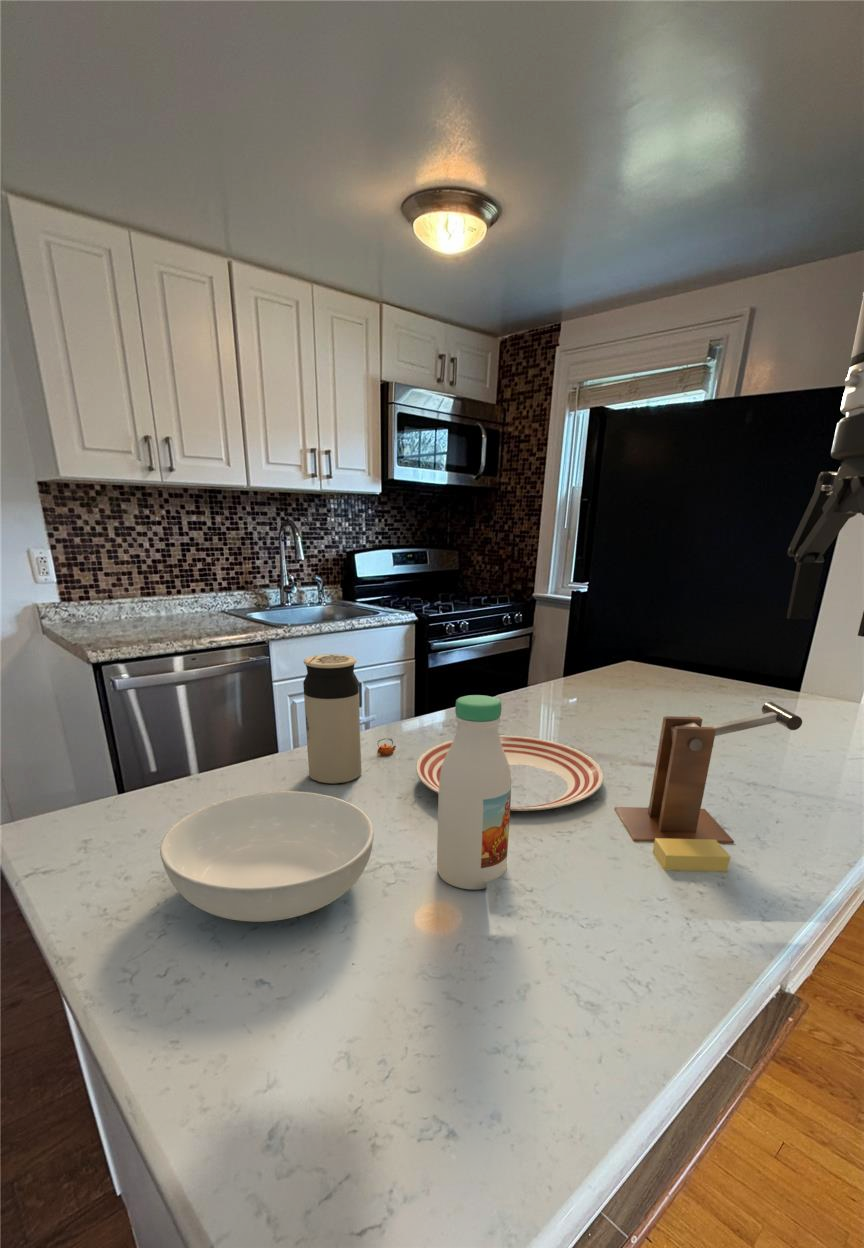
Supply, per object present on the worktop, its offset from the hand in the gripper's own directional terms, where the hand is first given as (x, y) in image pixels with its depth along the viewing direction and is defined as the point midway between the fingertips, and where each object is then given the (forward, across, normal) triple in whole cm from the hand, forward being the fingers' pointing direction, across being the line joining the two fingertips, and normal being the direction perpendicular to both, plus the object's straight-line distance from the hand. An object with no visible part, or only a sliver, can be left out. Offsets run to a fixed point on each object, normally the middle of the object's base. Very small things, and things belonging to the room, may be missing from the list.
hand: (832, 626), depth 69 cm
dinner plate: (+26, -14, -34) cm, 45 cm away
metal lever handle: (+13, +1, -10) cm, 16 cm away
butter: (+26, +10, -17) cm, 32 cm away
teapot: (+25, -27, -54) cm, 65 cm away
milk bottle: (+26, +11, -41) cm, 50 cm away
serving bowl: (+25, +15, -62) cm, 69 cm away
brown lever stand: (+26, +1, -16) cm, 30 cm away
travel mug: (+25, -17, -61) cm, 68 cm away
